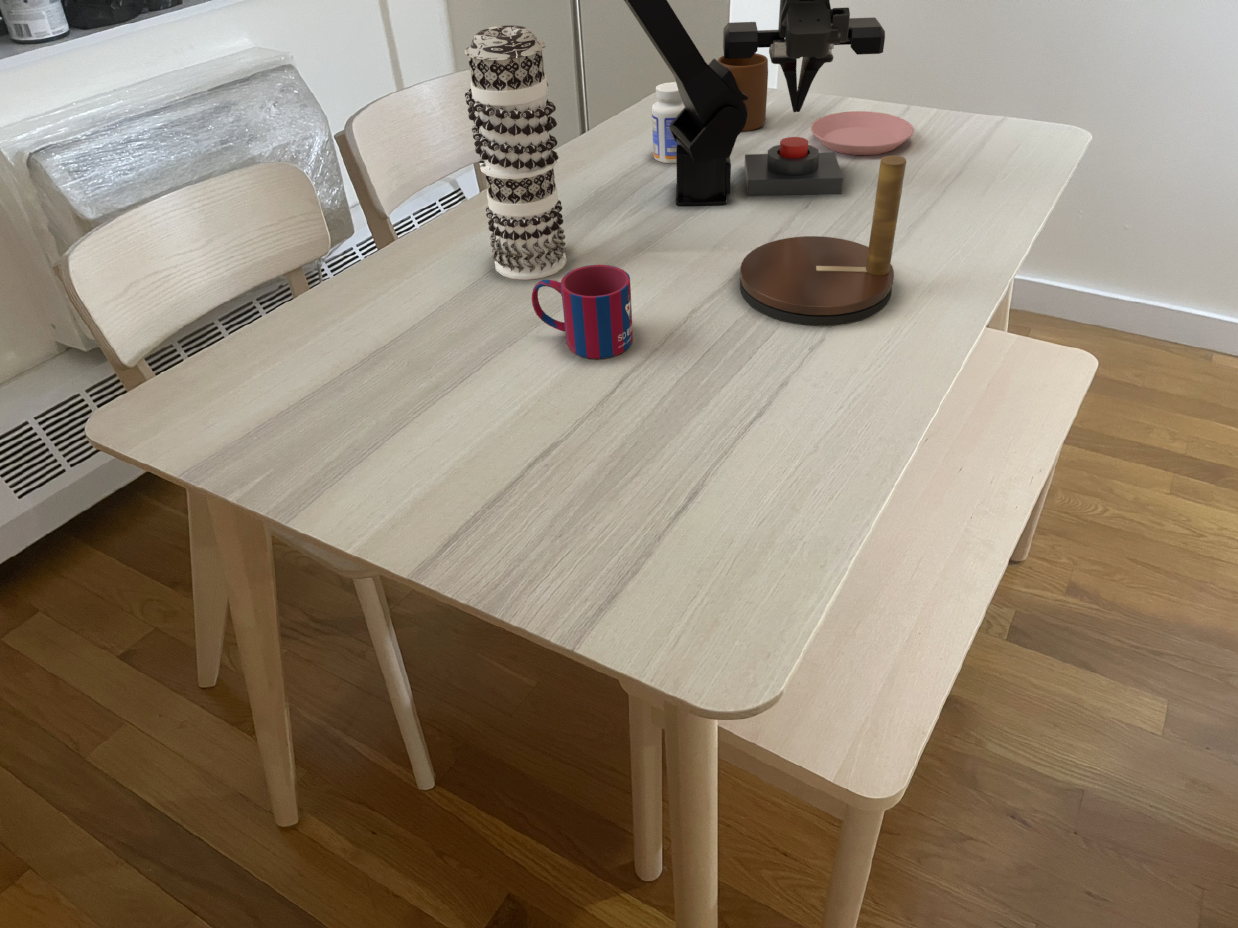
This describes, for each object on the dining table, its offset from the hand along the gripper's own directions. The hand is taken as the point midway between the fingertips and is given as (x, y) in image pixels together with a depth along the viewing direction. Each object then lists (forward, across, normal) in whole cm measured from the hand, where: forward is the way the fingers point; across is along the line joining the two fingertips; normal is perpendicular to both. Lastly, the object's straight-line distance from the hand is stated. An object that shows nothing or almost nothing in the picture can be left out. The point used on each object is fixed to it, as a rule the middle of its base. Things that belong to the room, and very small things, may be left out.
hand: (796, 111), depth 112 cm
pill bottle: (+9, -16, +10) cm, 21 cm away
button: (+6, 0, 0) cm, 6 cm away
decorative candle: (+10, -32, -22) cm, 40 cm away
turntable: (+8, 0, -29) cm, 30 cm away
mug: (+9, -7, +21) cm, 24 cm away
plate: (+9, +11, +14) cm, 20 cm away
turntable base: (+9, 0, -29) cm, 30 cm away
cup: (+10, -24, -39) cm, 47 cm away
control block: (+9, 0, 0) cm, 9 cm away
